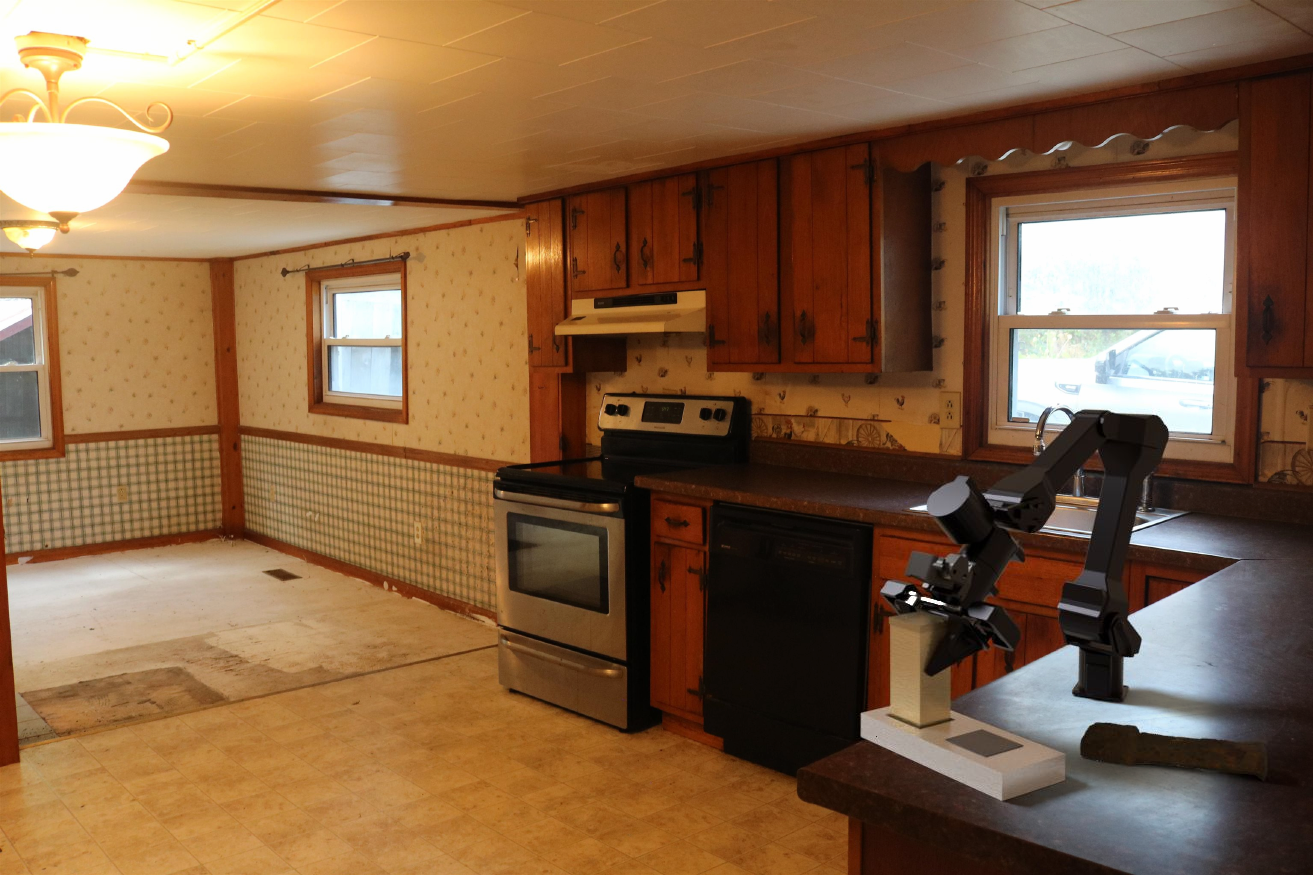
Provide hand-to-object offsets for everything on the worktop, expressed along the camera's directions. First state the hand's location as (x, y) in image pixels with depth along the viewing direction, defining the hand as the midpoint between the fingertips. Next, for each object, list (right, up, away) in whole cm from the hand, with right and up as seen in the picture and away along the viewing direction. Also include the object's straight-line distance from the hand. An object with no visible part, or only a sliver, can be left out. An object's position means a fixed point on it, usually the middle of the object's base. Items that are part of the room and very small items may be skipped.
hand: (911, 668), depth 124 cm
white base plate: (+4, -10, -4) cm, 11 cm away
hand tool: (+27, -10, -8) cm, 30 cm away
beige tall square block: (+1, -7, +1) cm, 7 cm away
